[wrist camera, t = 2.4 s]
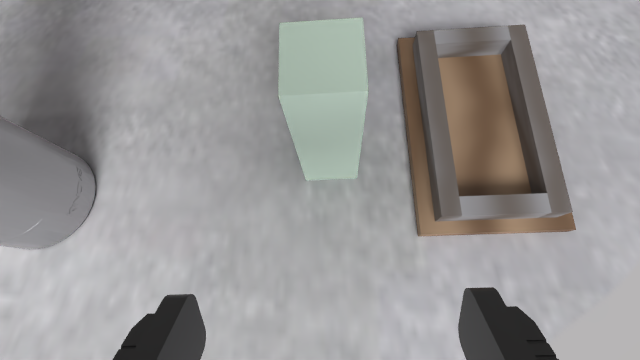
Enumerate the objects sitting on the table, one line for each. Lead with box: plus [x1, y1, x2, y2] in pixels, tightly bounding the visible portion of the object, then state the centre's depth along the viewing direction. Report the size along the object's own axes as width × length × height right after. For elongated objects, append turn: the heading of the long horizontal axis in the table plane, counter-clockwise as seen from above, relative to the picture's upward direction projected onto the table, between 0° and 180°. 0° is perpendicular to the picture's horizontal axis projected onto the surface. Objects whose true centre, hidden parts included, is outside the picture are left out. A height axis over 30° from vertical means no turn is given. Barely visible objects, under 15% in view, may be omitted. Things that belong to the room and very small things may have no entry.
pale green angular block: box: [278, 18, 368, 181], centre depth 24 cm, size 4×4×14 cm
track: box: [397, 25, 576, 236], centre depth 30 cm, size 12×19×3 cm, turn 1°
